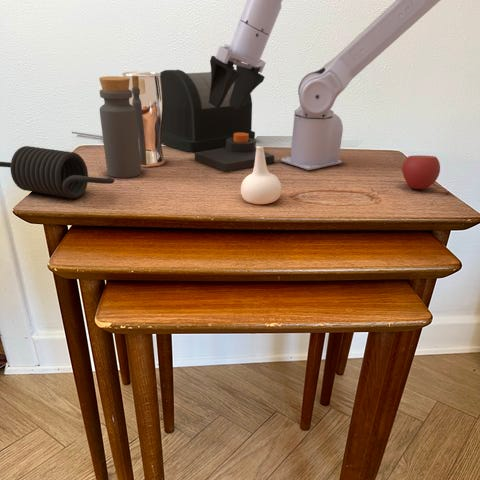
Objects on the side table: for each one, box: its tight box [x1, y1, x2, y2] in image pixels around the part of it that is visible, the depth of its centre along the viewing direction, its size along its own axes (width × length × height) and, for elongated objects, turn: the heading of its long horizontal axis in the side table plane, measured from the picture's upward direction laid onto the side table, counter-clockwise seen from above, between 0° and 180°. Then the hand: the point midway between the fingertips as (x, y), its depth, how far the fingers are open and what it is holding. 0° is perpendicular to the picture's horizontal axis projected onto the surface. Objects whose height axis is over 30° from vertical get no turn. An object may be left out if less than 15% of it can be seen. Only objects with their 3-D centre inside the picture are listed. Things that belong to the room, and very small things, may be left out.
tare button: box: [233, 133, 249, 142], centre depth 92 cm, size 3×3×2 cm
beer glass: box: [121, 71, 165, 168], centre depth 83 cm, size 7×7×15 cm
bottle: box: [98, 75, 142, 179], centre depth 77 cm, size 6×6×15 cm
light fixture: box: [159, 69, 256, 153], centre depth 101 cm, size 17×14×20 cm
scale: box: [194, 137, 275, 173], centre depth 90 cm, size 13×11×3 cm
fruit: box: [401, 155, 449, 195], centre depth 77 cm, size 6×6×8 cm
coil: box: [0, 145, 115, 200], centre depth 69 cm, size 7×20×9 cm
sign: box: [71, 131, 103, 139], centre depth 102 cm, size 5×1×15 cm
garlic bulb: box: [240, 145, 282, 205], centre depth 69 cm, size 6×6×8 cm
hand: (224, 106), depth 86 cm, fingers open, 7 cm apart
